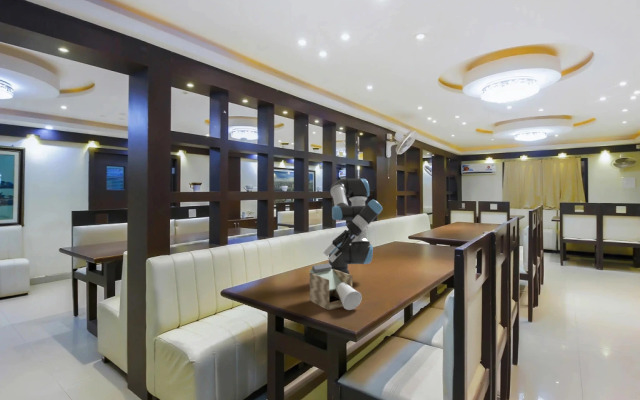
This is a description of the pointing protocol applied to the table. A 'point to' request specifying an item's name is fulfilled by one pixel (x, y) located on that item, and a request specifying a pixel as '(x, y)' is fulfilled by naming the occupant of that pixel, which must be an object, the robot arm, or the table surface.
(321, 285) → the stand
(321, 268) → the flap
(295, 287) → the table surface
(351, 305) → the cup
